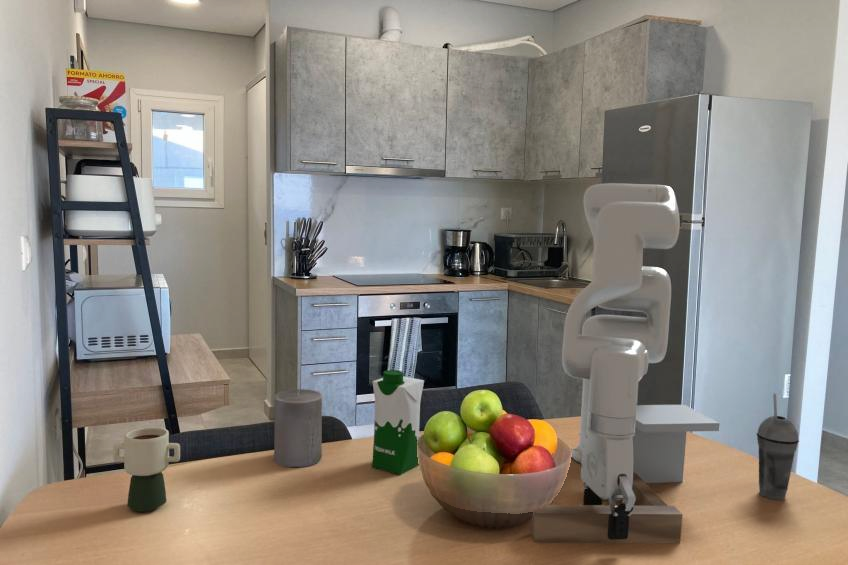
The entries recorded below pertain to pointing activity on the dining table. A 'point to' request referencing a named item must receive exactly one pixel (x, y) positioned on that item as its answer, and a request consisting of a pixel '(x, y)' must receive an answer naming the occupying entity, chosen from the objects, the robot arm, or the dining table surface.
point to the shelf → (664, 440)
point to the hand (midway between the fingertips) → (604, 524)
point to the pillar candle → (298, 428)
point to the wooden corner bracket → (591, 521)
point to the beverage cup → (776, 454)
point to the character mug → (146, 465)
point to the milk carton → (396, 422)
